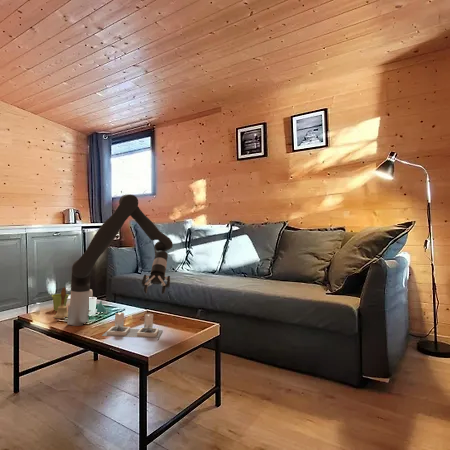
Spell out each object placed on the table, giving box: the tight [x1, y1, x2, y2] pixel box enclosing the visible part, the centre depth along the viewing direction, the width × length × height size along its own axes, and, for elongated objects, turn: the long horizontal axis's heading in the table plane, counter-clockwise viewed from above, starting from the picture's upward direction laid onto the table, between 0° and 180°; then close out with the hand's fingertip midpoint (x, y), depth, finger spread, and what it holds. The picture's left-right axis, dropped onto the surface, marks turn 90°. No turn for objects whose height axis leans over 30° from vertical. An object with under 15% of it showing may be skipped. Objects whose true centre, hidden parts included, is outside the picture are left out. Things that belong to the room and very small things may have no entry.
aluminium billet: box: [143, 313, 154, 333], centre depth 168 cm, size 4×4×9 cm
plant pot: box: [51, 293, 70, 312], centre depth 209 cm, size 9×9×9 cm
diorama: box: [96, 300, 107, 313], centre depth 205 cm, size 12×20×9 cm, turn 154°
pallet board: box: [101, 325, 164, 341], centre depth 168 cm, size 26×13×2 cm, turn 91°
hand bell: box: [53, 287, 68, 319], centre depth 194 cm, size 8×8×16 cm
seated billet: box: [114, 311, 125, 332], centre depth 167 cm, size 4×4×9 cm
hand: (153, 292), depth 178 cm, fingers open, 8 cm apart
